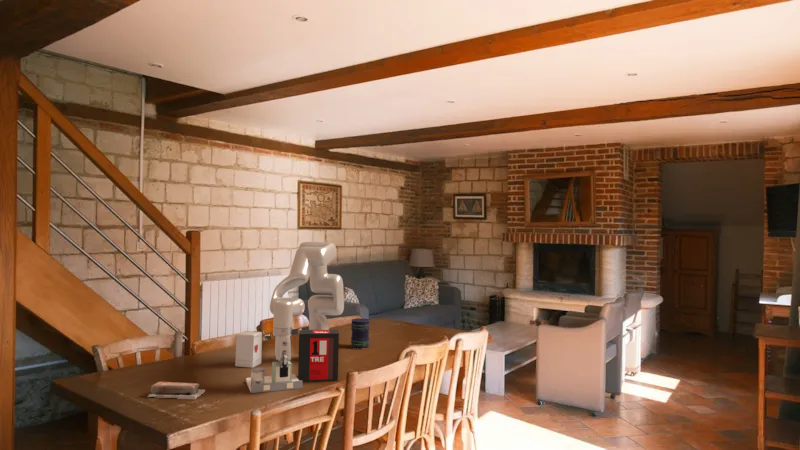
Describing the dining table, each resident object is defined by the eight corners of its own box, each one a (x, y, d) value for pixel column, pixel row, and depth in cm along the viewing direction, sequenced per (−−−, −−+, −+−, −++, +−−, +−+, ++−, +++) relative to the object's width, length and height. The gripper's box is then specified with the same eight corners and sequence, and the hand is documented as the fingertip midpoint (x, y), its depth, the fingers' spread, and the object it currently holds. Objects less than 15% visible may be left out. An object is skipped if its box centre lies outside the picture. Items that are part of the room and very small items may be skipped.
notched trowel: (147, 386, 197) (159, 378, 206) (146, 399, 196) (159, 391, 206) (195, 387, 196) (205, 380, 206) (195, 400, 196) (205, 392, 206)
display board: (294, 377, 228) (294, 370, 228) (302, 388, 213) (302, 381, 213) (246, 381, 221) (246, 374, 221) (250, 393, 205) (251, 385, 205)
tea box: (288, 380, 219) (289, 360, 219) (291, 383, 213) (292, 363, 213) (271, 381, 216) (272, 361, 216) (273, 385, 211) (274, 365, 211)
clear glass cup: (263, 383, 214) (263, 367, 214) (265, 386, 209) (265, 370, 209) (249, 384, 212) (250, 368, 212) (251, 388, 207) (251, 371, 207)
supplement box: (252, 368, 242) (253, 335, 242) (234, 366, 244) (235, 334, 244) (262, 363, 251) (262, 331, 251) (244, 362, 252) (245, 330, 253)
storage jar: (372, 347, 291) (373, 319, 291) (361, 350, 283) (362, 322, 283) (358, 344, 296) (358, 317, 297) (347, 347, 288) (347, 320, 288)
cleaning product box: (297, 382, 222) (299, 334, 222) (298, 376, 230) (299, 330, 231) (337, 381, 224) (338, 333, 225) (336, 375, 233) (337, 329, 233)
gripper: (296, 335, 208) (295, 378, 208) (288, 327, 224) (287, 367, 224) (276, 336, 205) (275, 380, 205) (269, 328, 221) (268, 369, 221)
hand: (281, 373), depth 215 cm, fingers open, 9 cm apart
